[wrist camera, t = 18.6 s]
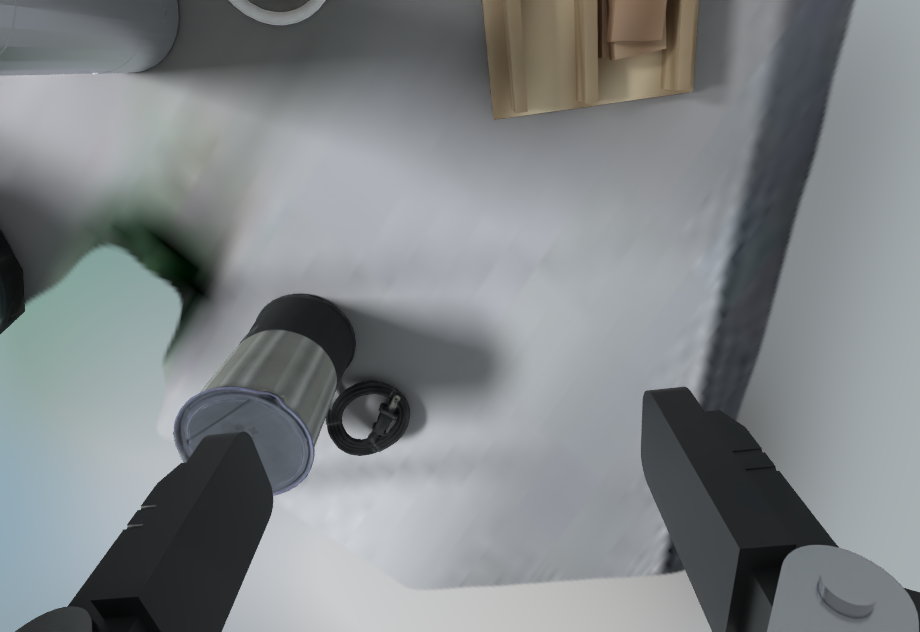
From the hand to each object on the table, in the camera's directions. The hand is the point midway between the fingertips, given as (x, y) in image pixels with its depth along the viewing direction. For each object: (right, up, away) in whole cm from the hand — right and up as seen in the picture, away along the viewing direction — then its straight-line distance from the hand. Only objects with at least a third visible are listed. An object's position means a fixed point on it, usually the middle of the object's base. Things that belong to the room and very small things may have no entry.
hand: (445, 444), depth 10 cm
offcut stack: (+11, +23, +23) cm, 34 cm away
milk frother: (-11, -2, +37) cm, 39 cm away
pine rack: (+9, +24, +24) cm, 35 cm away
